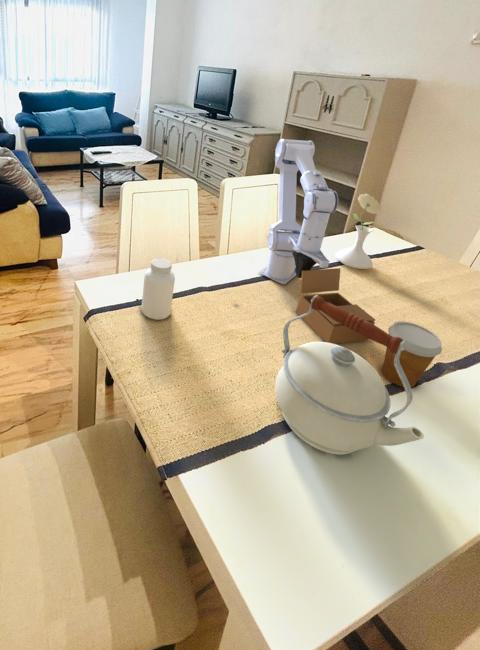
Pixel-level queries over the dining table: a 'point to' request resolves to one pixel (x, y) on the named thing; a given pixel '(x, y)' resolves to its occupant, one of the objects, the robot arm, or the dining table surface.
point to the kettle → (340, 390)
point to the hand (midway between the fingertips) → (300, 276)
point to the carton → (328, 326)
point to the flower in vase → (360, 237)
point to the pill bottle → (158, 289)
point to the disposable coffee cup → (411, 352)
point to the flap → (320, 280)
